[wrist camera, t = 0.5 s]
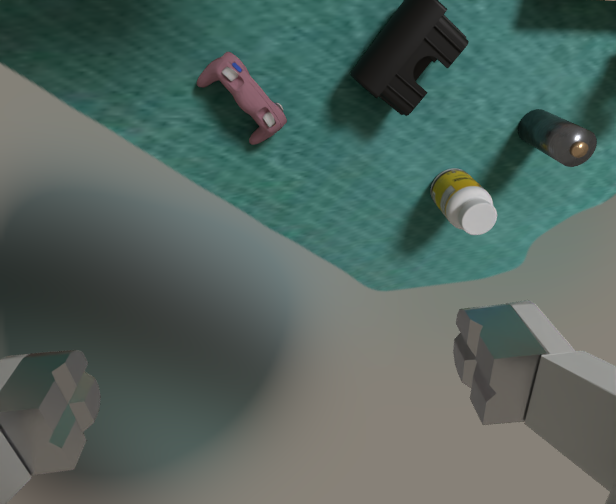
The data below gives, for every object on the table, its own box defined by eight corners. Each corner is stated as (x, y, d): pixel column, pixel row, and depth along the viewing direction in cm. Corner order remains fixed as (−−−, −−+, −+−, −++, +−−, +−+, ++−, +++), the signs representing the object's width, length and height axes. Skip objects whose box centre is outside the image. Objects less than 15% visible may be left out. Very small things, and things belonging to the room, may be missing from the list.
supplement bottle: (478, 175, 57) (513, 207, 49) (456, 211, 60) (485, 247, 51) (443, 160, 56) (472, 190, 47) (421, 197, 58) (446, 232, 50)
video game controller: (277, 122, 54) (300, 117, 47) (252, 148, 53) (271, 147, 47) (219, 53, 49) (235, 38, 43) (190, 81, 49) (202, 70, 43)
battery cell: (522, 109, 53) (568, 130, 45) (554, 109, 53) (606, 131, 45) (514, 141, 55) (556, 168, 47) (544, 142, 55) (592, 168, 47)
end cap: (406, -14, 46) (424, -15, 40) (452, 32, 48) (476, 37, 43) (344, 69, 50) (354, 79, 44) (391, 107, 52) (405, 122, 46)
